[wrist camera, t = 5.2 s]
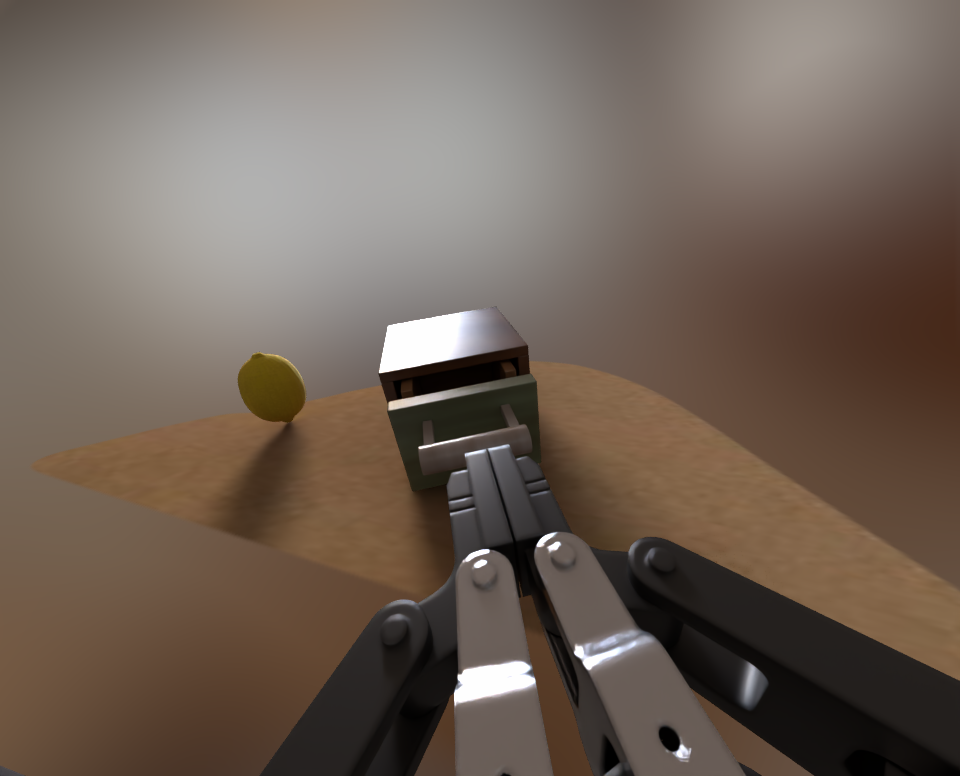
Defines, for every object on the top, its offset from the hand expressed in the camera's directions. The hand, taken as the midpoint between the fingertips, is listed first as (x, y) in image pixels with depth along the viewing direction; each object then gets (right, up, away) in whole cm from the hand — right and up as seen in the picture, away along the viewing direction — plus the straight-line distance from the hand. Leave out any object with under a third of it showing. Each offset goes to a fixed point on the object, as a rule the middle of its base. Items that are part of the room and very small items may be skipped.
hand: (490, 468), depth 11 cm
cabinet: (-2, 0, +21) cm, 21 cm away
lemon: (-20, -1, +25) cm, 32 cm away
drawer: (-1, -2, +15) cm, 15 cm away
